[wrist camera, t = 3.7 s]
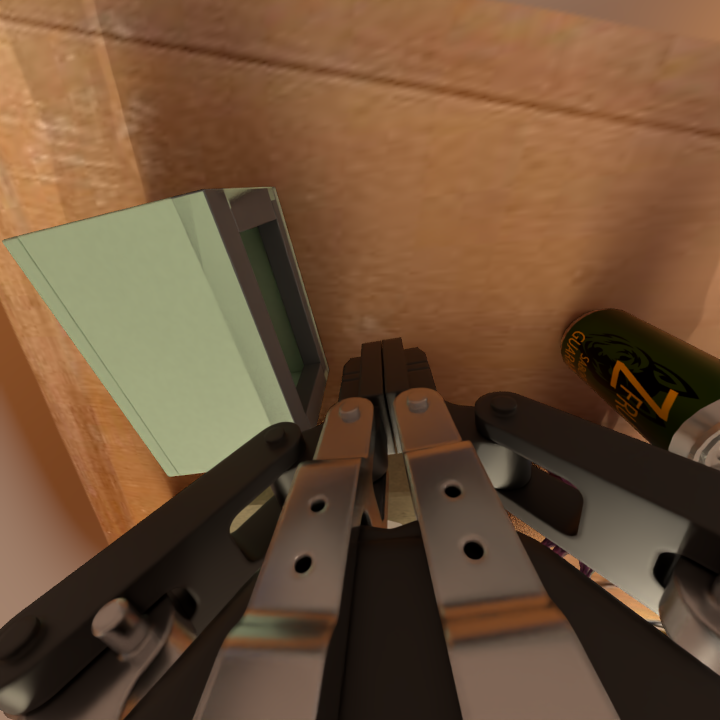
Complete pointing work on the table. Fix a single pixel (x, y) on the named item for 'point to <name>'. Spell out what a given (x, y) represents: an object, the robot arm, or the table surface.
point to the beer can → (650, 381)
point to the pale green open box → (187, 318)
